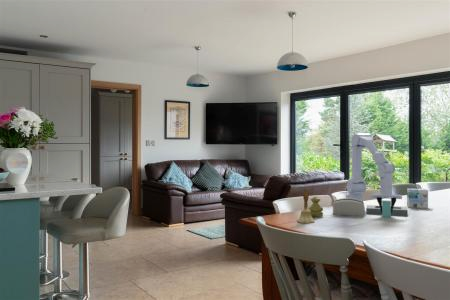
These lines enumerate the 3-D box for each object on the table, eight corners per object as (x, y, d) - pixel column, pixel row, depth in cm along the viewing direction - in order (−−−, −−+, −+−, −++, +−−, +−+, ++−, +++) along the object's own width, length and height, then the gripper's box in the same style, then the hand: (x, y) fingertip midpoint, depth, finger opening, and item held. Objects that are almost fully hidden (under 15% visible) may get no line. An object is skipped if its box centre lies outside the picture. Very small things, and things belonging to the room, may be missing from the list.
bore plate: (366, 213, 203) (366, 208, 203) (367, 210, 214) (367, 205, 214) (407, 215, 196) (407, 210, 196) (406, 212, 207) (406, 206, 207)
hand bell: (302, 219, 189) (301, 187, 189) (317, 221, 184) (317, 188, 184) (294, 222, 183) (293, 188, 183) (309, 224, 177) (309, 189, 177)
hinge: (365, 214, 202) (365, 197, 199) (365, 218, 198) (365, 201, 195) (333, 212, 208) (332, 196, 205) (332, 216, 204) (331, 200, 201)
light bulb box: (408, 207, 223) (408, 189, 223) (406, 206, 230) (406, 188, 230) (428, 208, 220) (428, 189, 220) (426, 206, 227) (426, 188, 227)
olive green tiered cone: (323, 217, 193) (323, 198, 193) (308, 217, 194) (308, 197, 194) (322, 215, 200) (322, 196, 200) (308, 215, 202) (308, 196, 202)
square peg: (382, 216, 194) (382, 201, 194) (382, 215, 198) (382, 200, 198) (390, 217, 192) (390, 201, 192) (390, 216, 196) (390, 200, 196)
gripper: (370, 186, 194) (371, 212, 194) (402, 187, 188) (402, 214, 188) (371, 185, 201) (371, 210, 201) (401, 185, 195) (401, 212, 195)
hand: (386, 212), depth 195 cm, fingers closed on square peg, 4 cm apart
